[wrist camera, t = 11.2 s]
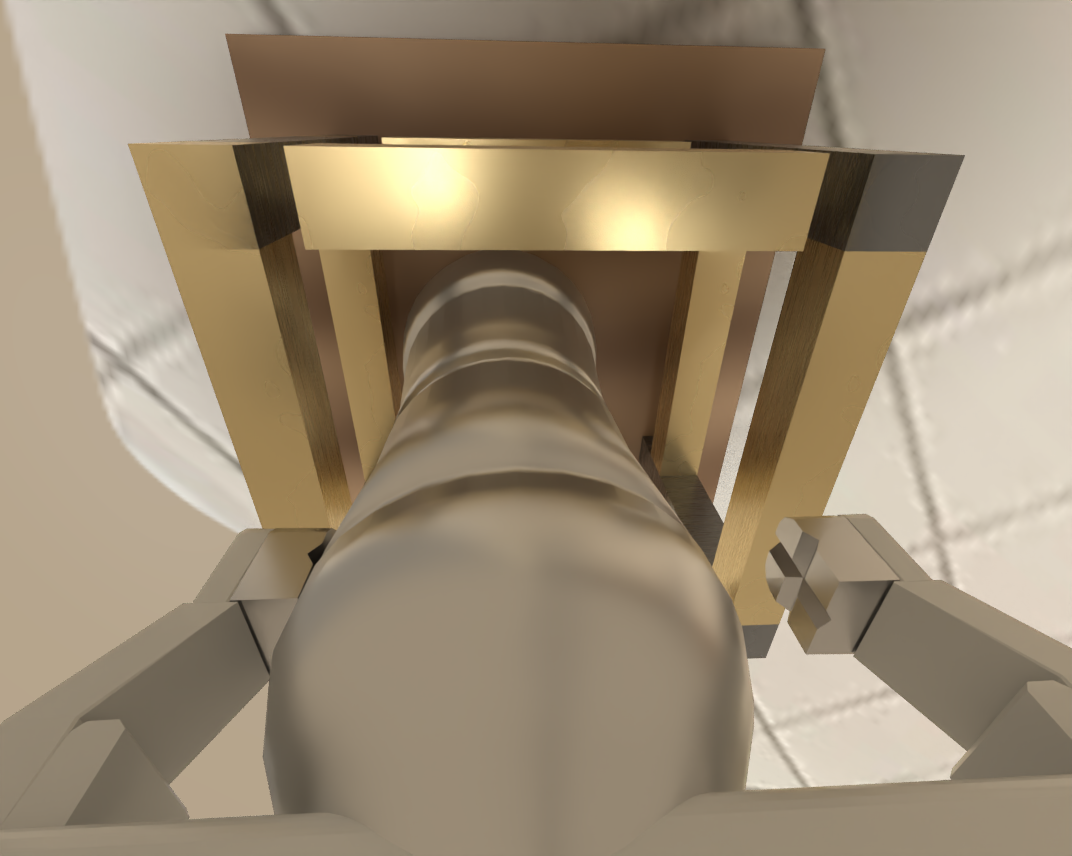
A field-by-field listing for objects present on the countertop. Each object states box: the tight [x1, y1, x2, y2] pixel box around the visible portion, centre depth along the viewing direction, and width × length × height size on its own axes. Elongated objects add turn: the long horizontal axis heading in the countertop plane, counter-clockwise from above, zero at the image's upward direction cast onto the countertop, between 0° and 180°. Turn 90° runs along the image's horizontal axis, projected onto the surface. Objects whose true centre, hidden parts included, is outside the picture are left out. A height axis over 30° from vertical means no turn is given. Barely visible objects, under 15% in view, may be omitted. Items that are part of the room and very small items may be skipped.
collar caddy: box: [128, 135, 965, 659], centre depth 15 cm, size 13×13×10 cm
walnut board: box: [225, 34, 825, 504], centre depth 20 cm, size 18×18×1 cm
